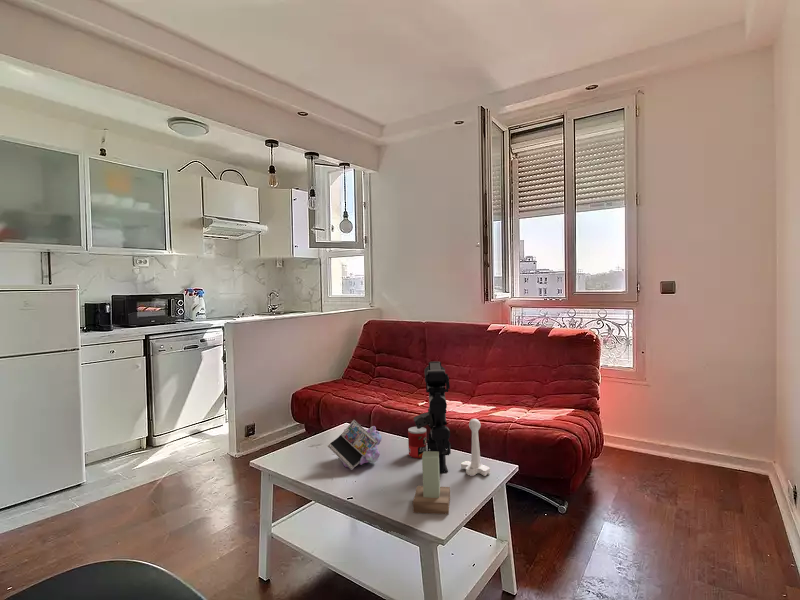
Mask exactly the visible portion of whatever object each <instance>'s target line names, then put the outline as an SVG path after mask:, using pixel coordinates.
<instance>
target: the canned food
mask: <svg viewBox="0 0 800 600" xmlns="http://www.w3.org/2000/svg"><path fill="white" fill-rule="evenodd" d="M407 430H408V431H407V437H408V440H407V441H408V442H407V443H408V455H409V457H410V458H412V459H422V455H423V452H424V451H427V440H428V438H427V428H426V427H424V426H423V427H421V428H420V429H417V427H416V426H411V427H409V428H408V429H407Z"/></svg>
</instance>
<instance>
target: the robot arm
mask: <svg viewBox="0 0 800 600" xmlns="http://www.w3.org/2000/svg"><path fill="white" fill-rule="evenodd" d="M424 383H425V392H426V393H428V402H429V405H428V406H429V407H428V408H427V412H423V413H421V414H417V415H416V416H414V417H413V422H414V424H415V427H417V429H420V428H421V427H423V428H424V427H427V426H428V427H429V429H430V431H429V433H428V439H427V451H437V452H439V472H440V473H448V472H449V470H448V467H447V461H446V460H447V459H446V458H447V457H448V456H450V455H451V450H452V449H451V447H452V446H451V445H452V444H451V442H450V440H449V439H450V438H451V431H450V428H449V427H448V426H447V425H448V424H447V423H448V422H447V408H448V404H447V399H446V393H449V390H450V388H451V387H450V377H449V374H448V373H446V368H445V367H444V366H443V365H442V362H441V361H429V362H428V366H426V367H425V368H424ZM446 456H447V457H446Z"/></svg>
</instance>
